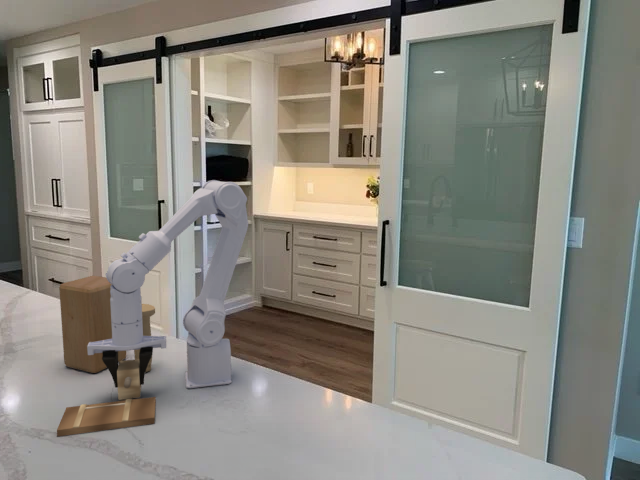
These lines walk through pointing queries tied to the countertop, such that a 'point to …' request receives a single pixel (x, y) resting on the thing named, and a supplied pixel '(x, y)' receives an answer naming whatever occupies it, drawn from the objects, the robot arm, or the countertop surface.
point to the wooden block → (85, 321)
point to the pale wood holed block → (128, 379)
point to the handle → (146, 327)
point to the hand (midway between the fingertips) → (129, 383)
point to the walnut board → (107, 416)
